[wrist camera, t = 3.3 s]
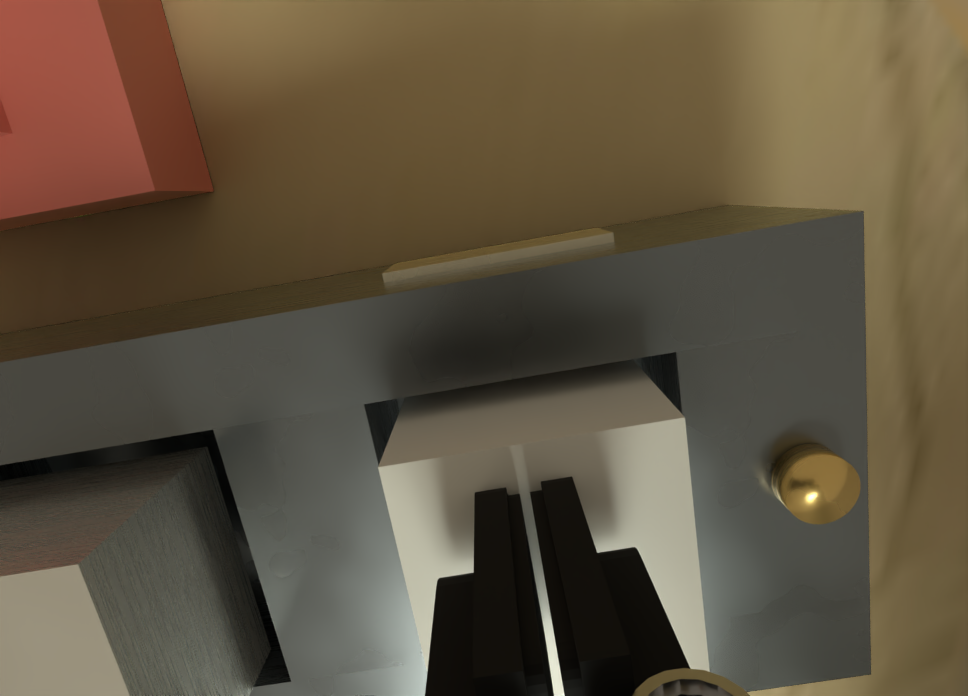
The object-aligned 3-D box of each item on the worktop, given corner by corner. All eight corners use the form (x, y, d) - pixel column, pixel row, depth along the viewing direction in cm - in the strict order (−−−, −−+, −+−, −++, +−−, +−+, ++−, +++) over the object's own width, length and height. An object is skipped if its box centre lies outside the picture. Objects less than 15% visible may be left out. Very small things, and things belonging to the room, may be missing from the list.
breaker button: (649, 547, 15) (709, 674, 11) (449, 577, 15) (437, 713, 11) (626, 352, 13) (685, 417, 9) (408, 389, 14) (377, 467, 10)
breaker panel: (751, 525, 19) (1008, 844, 10) (85, 628, 20) (-264, 1007, 11) (727, 197, 16) (1045, 201, 7) (-34, 333, 17) (-628, 492, 8)
